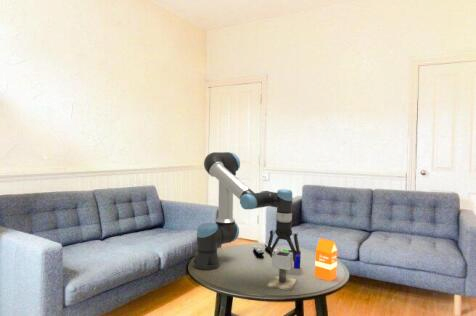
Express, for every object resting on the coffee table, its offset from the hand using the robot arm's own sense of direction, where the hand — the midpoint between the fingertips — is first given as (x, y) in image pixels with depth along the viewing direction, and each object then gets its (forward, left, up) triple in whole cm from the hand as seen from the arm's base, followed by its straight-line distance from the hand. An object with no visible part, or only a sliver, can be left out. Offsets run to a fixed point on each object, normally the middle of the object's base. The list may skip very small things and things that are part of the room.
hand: (282, 265), depth 168 cm
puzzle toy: (0, +20, -10) cm, 22 cm away
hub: (0, 0, 0) cm, 0 cm away
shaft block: (0, 0, -9) cm, 9 cm away
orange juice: (+19, +19, -10) cm, 29 cm away
